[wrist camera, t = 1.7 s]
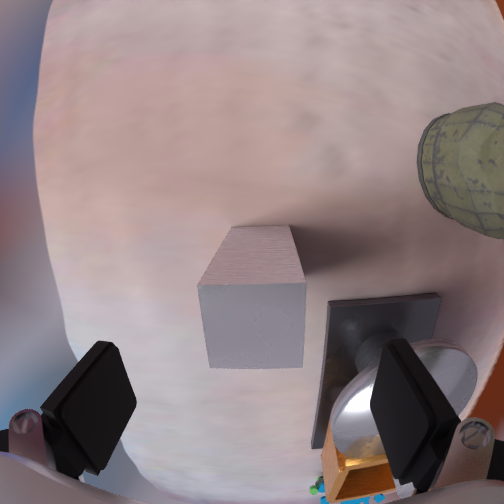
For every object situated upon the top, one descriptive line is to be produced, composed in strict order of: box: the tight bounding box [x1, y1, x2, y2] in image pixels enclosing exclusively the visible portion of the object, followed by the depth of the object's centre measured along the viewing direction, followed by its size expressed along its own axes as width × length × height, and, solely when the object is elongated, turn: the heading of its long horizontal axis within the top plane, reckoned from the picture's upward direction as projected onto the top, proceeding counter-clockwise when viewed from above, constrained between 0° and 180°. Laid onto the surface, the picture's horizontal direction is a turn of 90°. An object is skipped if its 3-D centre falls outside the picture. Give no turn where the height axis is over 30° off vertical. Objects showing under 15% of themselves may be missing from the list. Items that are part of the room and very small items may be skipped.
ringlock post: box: [311, 293, 477, 503], centre depth 17 cm, size 22×11×14 cm, turn 3°
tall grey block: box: [197, 225, 306, 369], centre depth 16 cm, size 4×4×10 cm
